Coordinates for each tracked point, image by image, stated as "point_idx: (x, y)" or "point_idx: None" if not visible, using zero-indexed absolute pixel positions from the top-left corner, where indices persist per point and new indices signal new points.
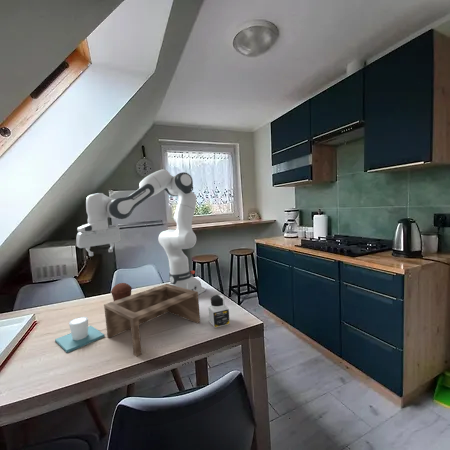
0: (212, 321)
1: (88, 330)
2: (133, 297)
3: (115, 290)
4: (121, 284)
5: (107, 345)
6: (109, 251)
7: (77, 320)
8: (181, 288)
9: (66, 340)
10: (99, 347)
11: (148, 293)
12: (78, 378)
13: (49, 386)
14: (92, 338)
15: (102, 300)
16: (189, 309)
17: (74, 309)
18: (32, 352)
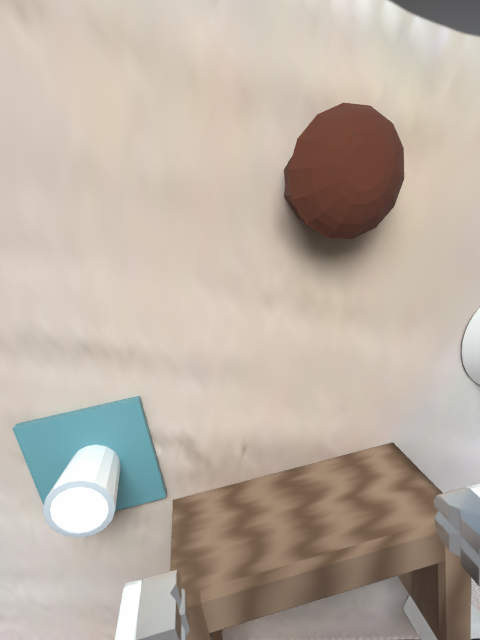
0: (414, 611)
1: (125, 436)
2: (289, 603)
3: (310, 205)
4: (363, 186)
5: (162, 543)
6: (447, 536)
7: (75, 505)
8: (463, 614)
9: (51, 464)
10: (141, 541)
11: (355, 584)
12: (79, 637)
13: (20, 634)
14: (129, 501)
15: (246, 73)
16: (412, 574)
17: (93, 94)
18: None
